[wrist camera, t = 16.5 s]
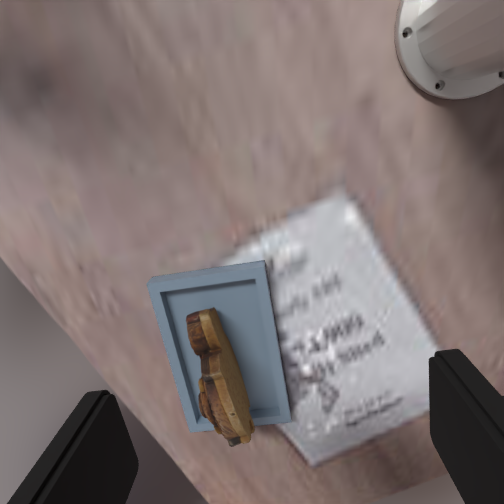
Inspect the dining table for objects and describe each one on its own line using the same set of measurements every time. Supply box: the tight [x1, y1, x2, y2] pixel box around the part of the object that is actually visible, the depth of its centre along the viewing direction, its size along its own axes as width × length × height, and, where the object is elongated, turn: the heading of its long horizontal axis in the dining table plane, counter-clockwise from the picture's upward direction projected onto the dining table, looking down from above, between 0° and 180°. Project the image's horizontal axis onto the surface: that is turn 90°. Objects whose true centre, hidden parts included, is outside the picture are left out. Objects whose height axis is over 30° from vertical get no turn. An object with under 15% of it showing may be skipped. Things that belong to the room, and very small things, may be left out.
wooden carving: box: [186, 307, 255, 447], centre depth 37 cm, size 16×5×10 cm, turn 22°
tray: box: [147, 260, 291, 432], centre depth 42 cm, size 13×21×2 cm, turn 10°
